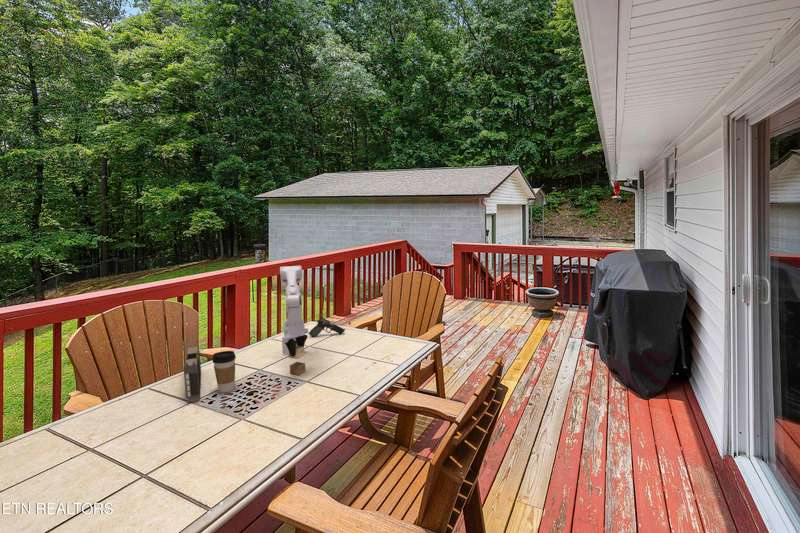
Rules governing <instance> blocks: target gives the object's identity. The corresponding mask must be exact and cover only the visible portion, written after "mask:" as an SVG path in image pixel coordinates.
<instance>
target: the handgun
mask: <svg viewBox="0 0 800 533" xmlns="http://www.w3.org/2000/svg"><path fill="white" fill-rule="evenodd" d="M316 322H317V324H316V325H314V327H312V329H310V331H308V335H309V336H310V337H313V338H314V337H315V338H317V336H319V334H321V332H323V331H325V332H326V333H327V334H330V333H331V332H332V331H333V332H335V333H337V334H339V335H341V334H342V335H343V333H345V331H346V330H345V328H343V327H341V326H339V325H337V324H335V323H333V322H331V321H330V320H328V319H325V318H324V317H323V316H322V317H320V318H319V319H318V320H317V319H316ZM328 329H330V330H328Z"/></svg>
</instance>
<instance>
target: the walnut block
mask: <svg viewBox="0 0 800 533" xmlns="http://www.w3.org/2000/svg"><path fill="white" fill-rule="evenodd" d="M305 371H306V363H305V362H300V361H295V362H293V363H291V364H290V365H289V373H290V374H291V375H296V376H300V375H301V374H303V373H305ZM300 377H301V376H300Z"/></svg>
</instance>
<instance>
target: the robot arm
mask: <svg viewBox="0 0 800 533" xmlns="http://www.w3.org/2000/svg"><path fill="white" fill-rule="evenodd" d="M302 270H303V269H302V266H301V265H291V266H290V265H289V266H288V265H287V266H282V265H281V266H280V267H279V273H280V274H279V275H280V282H281V283H282V284H285V286H286V287H285V300H284V301H285V308H286V315H287V317H286V319H285V320H283V337H281V341H282V342H281V344H282V345H281V346H282V347H281V348H282V354H281V356H289V353H290V356H295V354H296V346H303V347H304V348H305V344H306V342H307V339H308V334H309V328H305V320H304V319H303V316H302V307H303V299H302V293H300V292H301V291H300V286H299V285H298V283H301V282H302V278H303V271H302ZM306 353H308V352H307V351H304V355H305V354H306Z"/></svg>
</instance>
